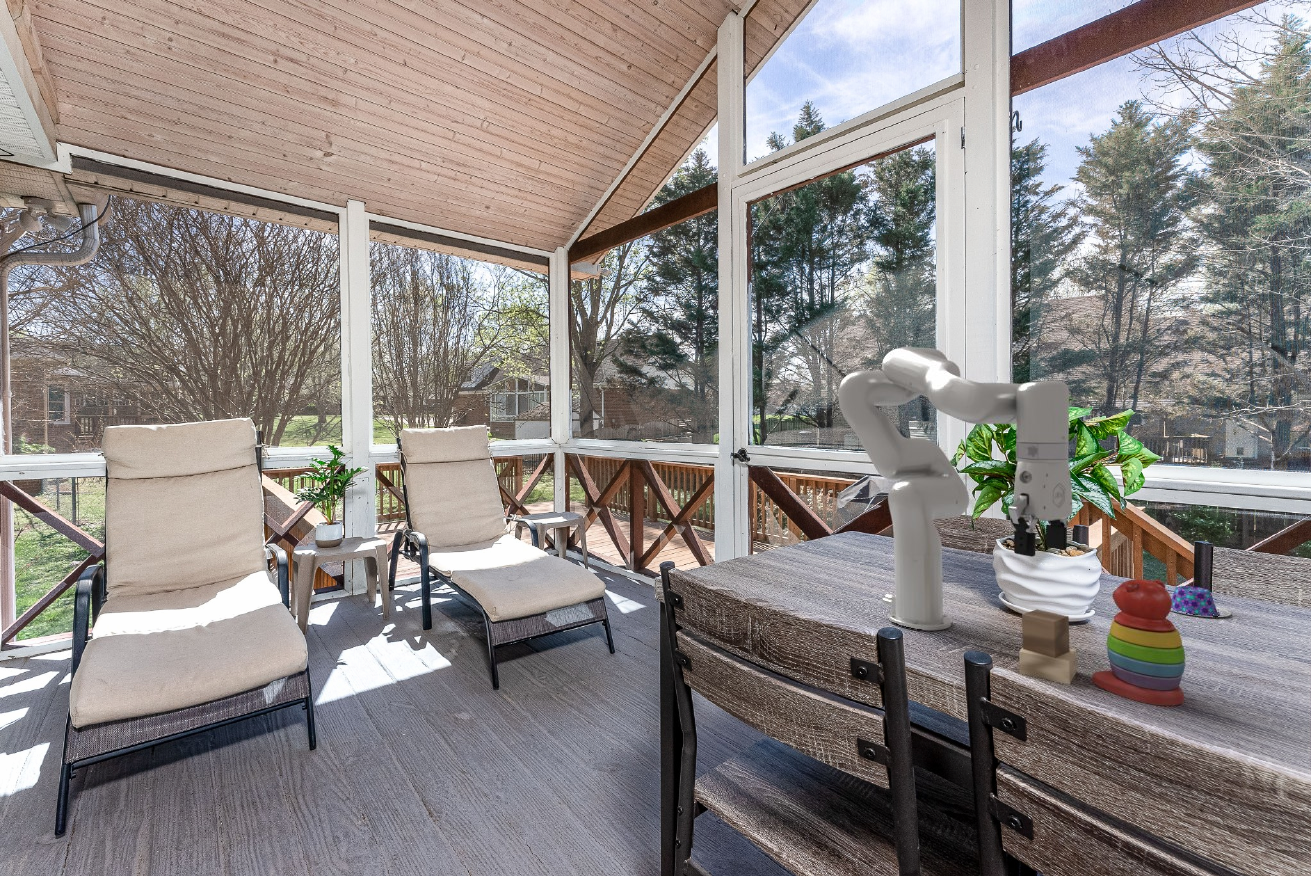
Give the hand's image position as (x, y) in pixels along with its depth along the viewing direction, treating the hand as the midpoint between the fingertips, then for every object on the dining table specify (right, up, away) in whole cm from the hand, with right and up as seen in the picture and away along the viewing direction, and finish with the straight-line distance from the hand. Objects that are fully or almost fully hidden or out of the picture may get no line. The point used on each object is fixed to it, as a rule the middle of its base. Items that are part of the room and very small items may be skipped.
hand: (1040, 551), depth 100 cm
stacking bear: (+10, -21, -9) cm, 25 cm away
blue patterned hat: (+55, -20, +30) cm, 65 cm away
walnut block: (0, -17, -1) cm, 17 cm away
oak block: (0, -21, -1) cm, 21 cm away
